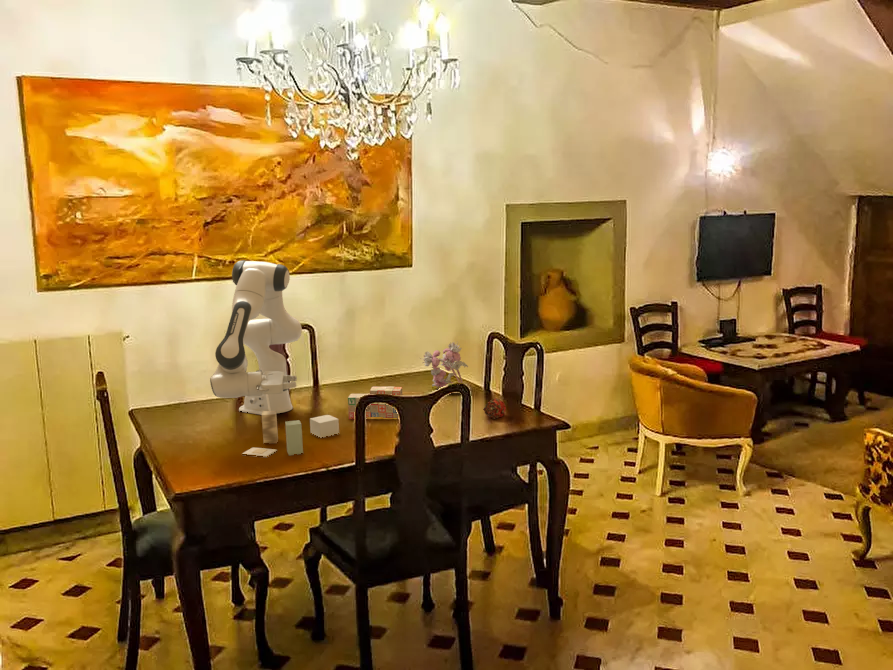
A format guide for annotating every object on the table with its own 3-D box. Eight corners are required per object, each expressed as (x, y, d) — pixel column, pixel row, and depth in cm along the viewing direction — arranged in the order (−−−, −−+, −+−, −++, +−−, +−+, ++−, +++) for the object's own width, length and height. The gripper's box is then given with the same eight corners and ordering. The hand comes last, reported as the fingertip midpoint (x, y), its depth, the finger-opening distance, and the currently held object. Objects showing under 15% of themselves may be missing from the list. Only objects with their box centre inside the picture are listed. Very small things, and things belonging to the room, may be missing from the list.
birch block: (263, 443, 317) (261, 415, 315) (264, 439, 321) (262, 411, 319) (277, 442, 317) (275, 414, 315) (277, 438, 322) (276, 410, 320)
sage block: (287, 451, 307) (285, 421, 305) (301, 449, 309) (299, 420, 307) (288, 455, 303) (287, 425, 301) (303, 453, 304) (301, 423, 302)
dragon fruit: (494, 426, 335) (492, 421, 347) (512, 413, 335) (509, 409, 347) (481, 409, 335) (479, 405, 347) (498, 395, 335) (496, 392, 347)
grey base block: (320, 438, 322) (319, 423, 320) (310, 433, 328) (309, 418, 327) (339, 434, 326) (338, 419, 325) (329, 429, 333) (328, 414, 331)
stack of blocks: (348, 419, 344) (346, 390, 342) (351, 415, 351) (350, 386, 348) (401, 420, 342) (399, 390, 340) (403, 415, 348) (402, 386, 346)
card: (242, 455, 305) (242, 452, 304) (252, 448, 311) (252, 446, 311) (266, 457, 301) (266, 455, 301) (277, 451, 308) (276, 449, 308)
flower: (479, 381, 394) (454, 333, 392) (483, 388, 371) (456, 337, 369) (441, 401, 394) (415, 353, 392) (441, 410, 372) (414, 359, 370)
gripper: (254, 382, 297) (295, 379, 299) (258, 369, 317) (296, 366, 319) (256, 399, 298) (296, 397, 300) (259, 385, 318) (297, 383, 320)
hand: (296, 381), depth 310 cm, fingers open, 8 cm apart
